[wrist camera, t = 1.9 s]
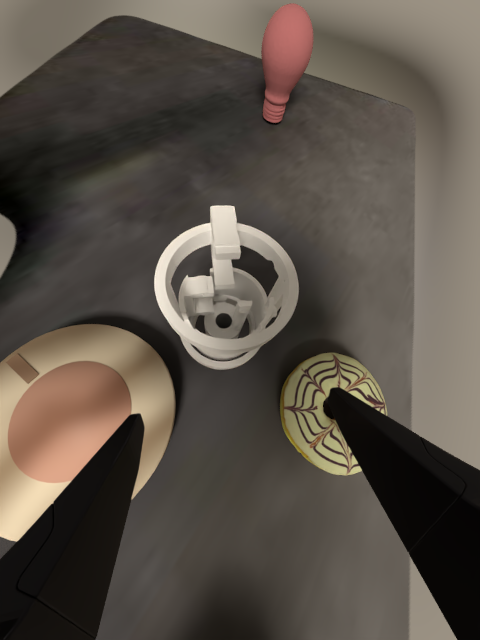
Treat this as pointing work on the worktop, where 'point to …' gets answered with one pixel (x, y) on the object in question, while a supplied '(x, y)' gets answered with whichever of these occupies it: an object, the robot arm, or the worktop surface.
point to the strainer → (225, 291)
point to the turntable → (74, 413)
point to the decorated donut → (307, 409)
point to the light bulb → (284, 56)
